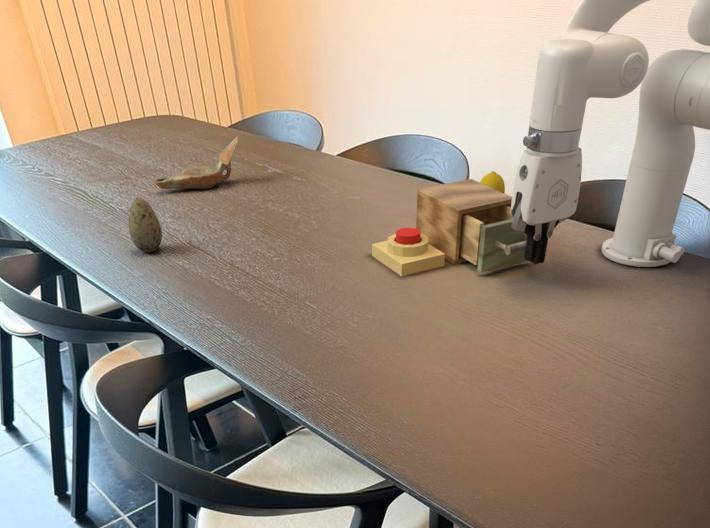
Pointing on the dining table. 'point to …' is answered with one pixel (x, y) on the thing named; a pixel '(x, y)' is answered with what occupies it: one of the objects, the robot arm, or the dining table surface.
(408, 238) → the red button
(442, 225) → the cabinet
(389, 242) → the button box
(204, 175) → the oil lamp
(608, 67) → the robot arm
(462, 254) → the drawer
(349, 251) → the dining table surface
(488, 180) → the lemon
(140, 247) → the decorative egg
